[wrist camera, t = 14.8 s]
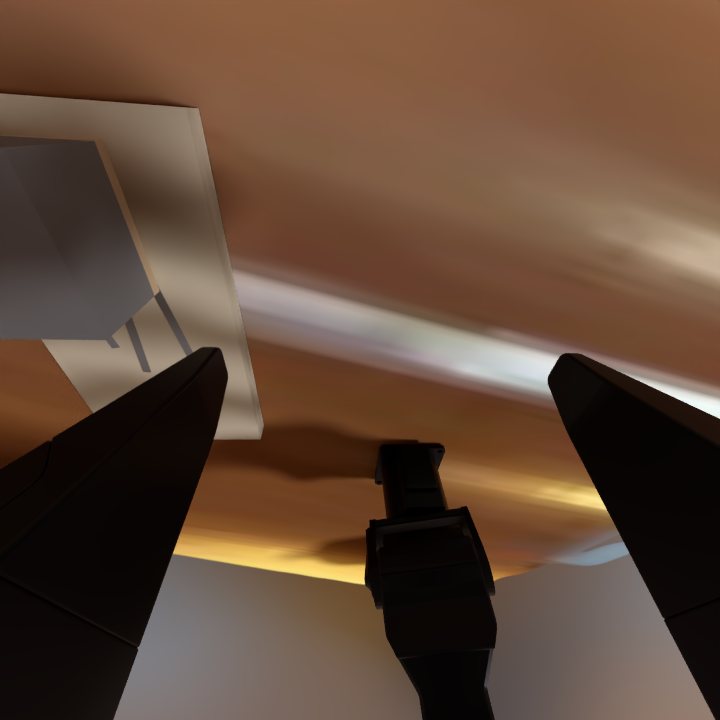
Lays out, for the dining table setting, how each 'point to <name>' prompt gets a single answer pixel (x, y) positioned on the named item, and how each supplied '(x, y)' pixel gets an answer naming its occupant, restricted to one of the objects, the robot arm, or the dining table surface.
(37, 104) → the board
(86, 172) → the block
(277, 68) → the dining table surface
